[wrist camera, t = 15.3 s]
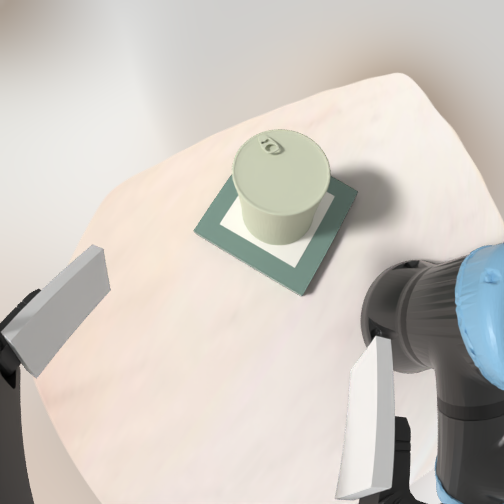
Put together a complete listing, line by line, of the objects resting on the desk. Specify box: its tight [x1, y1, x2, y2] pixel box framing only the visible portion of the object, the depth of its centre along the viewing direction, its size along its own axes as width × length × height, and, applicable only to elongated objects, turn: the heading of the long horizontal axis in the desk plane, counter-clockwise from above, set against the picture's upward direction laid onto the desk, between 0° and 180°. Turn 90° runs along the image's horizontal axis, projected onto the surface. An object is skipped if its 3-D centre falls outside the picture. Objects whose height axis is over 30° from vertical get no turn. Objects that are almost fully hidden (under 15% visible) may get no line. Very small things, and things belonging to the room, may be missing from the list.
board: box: [194, 175, 358, 296], centre depth 38 cm, size 16×16×2 cm
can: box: [232, 129, 330, 245], centre depth 31 cm, size 9×9×12 cm
